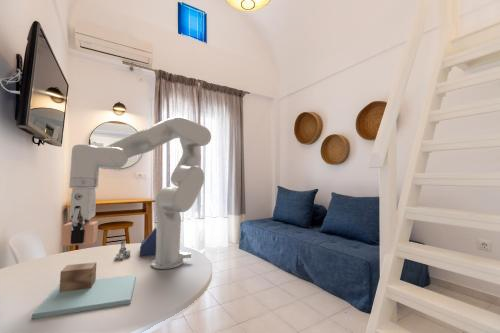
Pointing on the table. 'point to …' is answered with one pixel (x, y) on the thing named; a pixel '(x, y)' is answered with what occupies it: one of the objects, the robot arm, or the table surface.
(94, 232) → the terracotta brick
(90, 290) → the board
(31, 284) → the table surface
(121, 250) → the miniature building cluster
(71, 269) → the walnut brick
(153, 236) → the blue angular block
